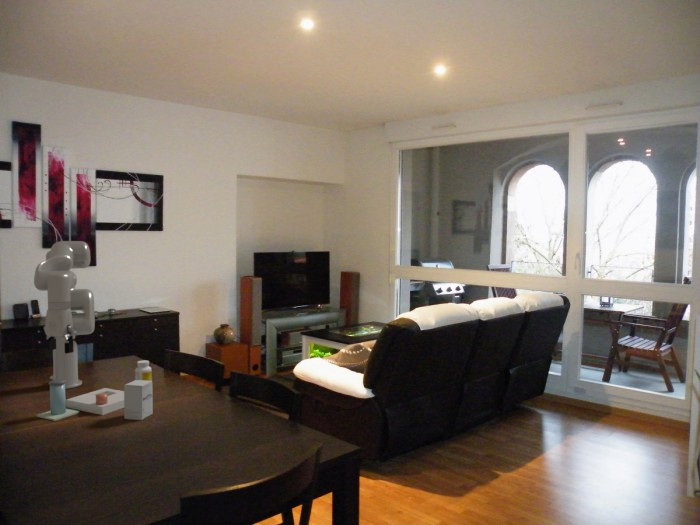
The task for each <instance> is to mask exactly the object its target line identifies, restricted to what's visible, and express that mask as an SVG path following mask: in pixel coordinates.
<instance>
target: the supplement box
mask: <svg viewBox="0 0 700 525" xmlns="http://www.w3.org/2000/svg"><path fill="white" fill-rule="evenodd" d="M153 390H154V389H153V380H152V381H146V380H135V379H134V380H133V381H130V382H128V383H125V384H124V385H123V391H124V410H123V411H124V414H123V416H124V420H125V419H126V420H137V421H143V420H144V419H146V418H148V417H149V416H152V415H153V410H154V407H153V405H154V402H153V401H154V399H153V398H154V396H153V392H154V391H153Z"/></svg>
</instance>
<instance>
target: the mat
mask: <svg viewBox="0 0 700 525" xmlns="http://www.w3.org/2000/svg"><path fill="white" fill-rule="evenodd" d="M77 414H80V410H76V409H72V408H67V407H66V412H65V413H63V414H59V415H51V410H48V411H45V412H42V413H38V414H36V417H37V418H41V419H45V420H50V421H52V422H54V421H58V420H61V419H64V418H67V417H70V416H74V415H77Z"/></svg>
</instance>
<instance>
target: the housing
mask: <svg viewBox="0 0 700 525" xmlns="http://www.w3.org/2000/svg"><path fill="white" fill-rule="evenodd" d="M100 393H106V394H107V400H108V402H107V403H105V404H96V395H97V394H100ZM66 408H67V409H72V410H77V411H82V412H87V413H91V414H96V415H101V416H104V415H106V414H109V413H112V412H115V411H119V410H121V409H123V408H124V390H120V389H119V390H118V389H113V388H108V387H103V388H101V389H100V388H99V389H97V390H94V391H90V392H88V393H84V394H79V395H77V396H73V397H70V398H68V399H66Z"/></svg>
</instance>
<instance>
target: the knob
mask: <svg viewBox="0 0 700 525" xmlns="http://www.w3.org/2000/svg"><path fill="white" fill-rule="evenodd" d="M107 402H108V400H107V394H106V393H100V394H97V395H96V404H105V403H107Z"/></svg>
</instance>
